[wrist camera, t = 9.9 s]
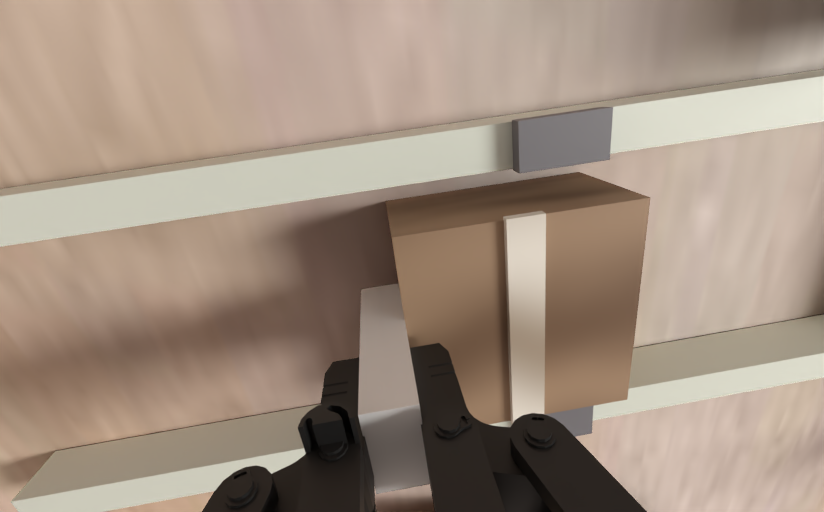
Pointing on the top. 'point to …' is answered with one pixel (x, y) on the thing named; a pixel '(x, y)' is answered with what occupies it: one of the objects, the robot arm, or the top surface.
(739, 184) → the top surface
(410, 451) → the robot arm
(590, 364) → the cardboard box
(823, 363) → the track
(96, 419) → the top surface
